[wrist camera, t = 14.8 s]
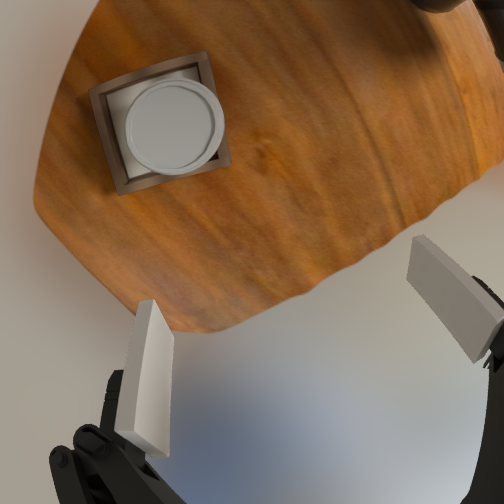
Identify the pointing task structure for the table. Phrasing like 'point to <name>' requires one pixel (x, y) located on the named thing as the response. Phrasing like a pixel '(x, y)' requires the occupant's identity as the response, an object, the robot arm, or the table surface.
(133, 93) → the holder
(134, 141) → the disposable coffee cup
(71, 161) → the table surface
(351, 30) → the table surface
